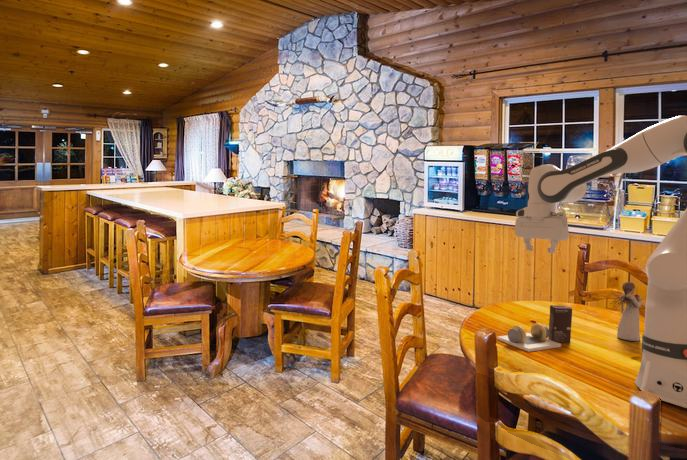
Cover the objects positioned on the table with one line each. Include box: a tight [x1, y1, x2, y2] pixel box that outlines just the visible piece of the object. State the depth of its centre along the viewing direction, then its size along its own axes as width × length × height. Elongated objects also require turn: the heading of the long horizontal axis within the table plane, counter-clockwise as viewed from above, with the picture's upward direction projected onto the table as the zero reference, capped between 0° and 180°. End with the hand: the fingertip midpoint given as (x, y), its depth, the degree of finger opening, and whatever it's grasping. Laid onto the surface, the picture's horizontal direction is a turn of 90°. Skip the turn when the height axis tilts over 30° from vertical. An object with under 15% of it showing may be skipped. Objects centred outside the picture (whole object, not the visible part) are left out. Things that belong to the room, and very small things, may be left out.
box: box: [547, 304, 573, 344], centre depth 149 cm, size 6×4×12 cm
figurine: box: [610, 281, 643, 342], centre depth 152 cm, size 10×10×20 cm
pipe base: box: [496, 323, 562, 353], centre depth 146 cm, size 14×14×6 cm
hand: (539, 251), depth 151 cm, fingers open, 8 cm apart
